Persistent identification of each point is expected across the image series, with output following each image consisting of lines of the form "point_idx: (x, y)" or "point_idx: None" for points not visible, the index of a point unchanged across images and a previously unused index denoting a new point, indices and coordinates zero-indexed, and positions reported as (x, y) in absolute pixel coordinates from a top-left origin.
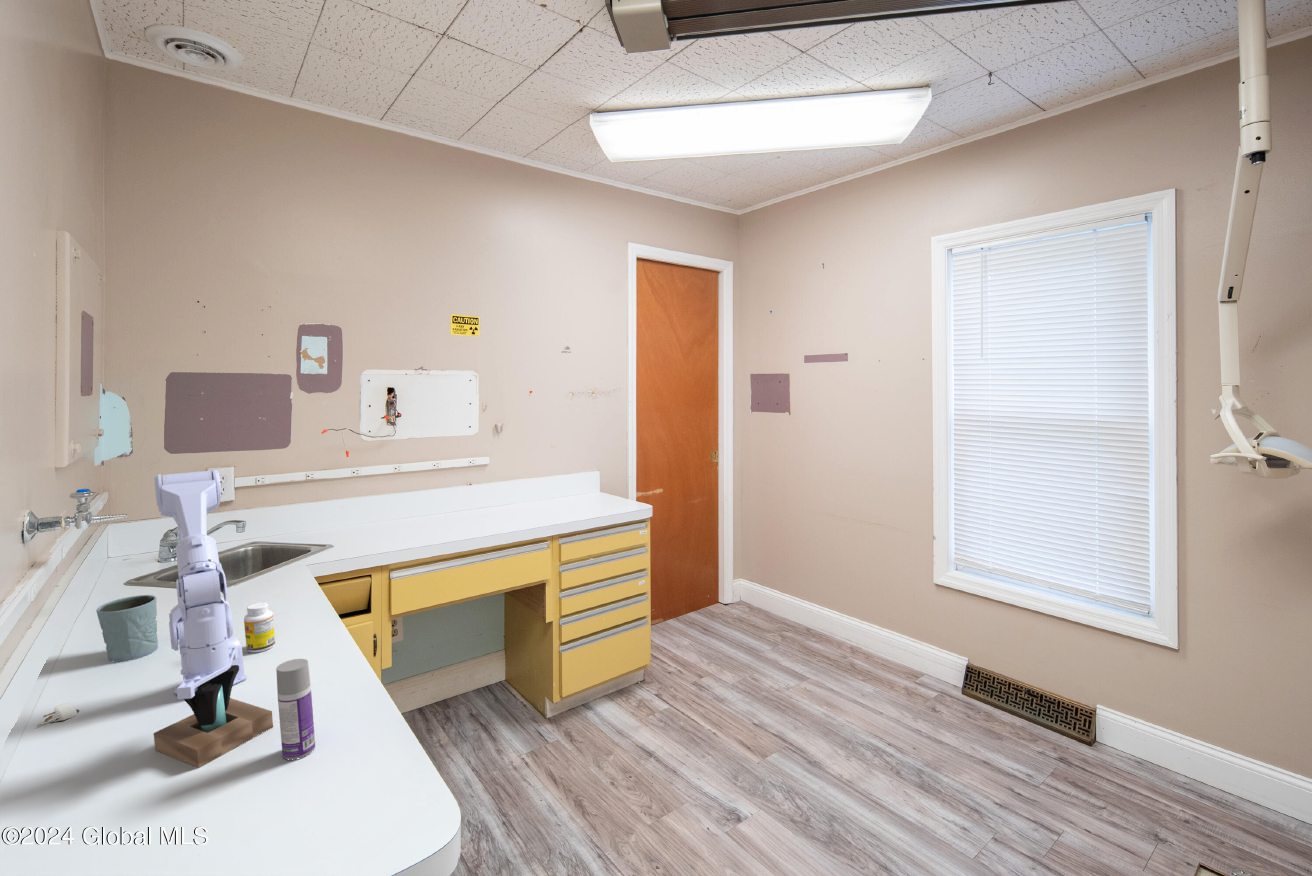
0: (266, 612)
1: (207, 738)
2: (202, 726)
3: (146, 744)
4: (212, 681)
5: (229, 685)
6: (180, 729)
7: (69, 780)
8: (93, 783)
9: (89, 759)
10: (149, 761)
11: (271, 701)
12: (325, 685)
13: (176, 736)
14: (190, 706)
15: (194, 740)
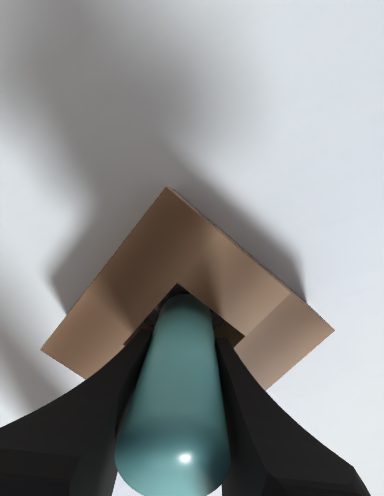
0: None
1: (94, 353)
2: (157, 323)
3: (212, 148)
4: (242, 475)
5: (222, 492)
6: (164, 264)
7: (72, 12)
8: (47, 100)
9: (176, 5)
10: (121, 199)
11: (327, 375)
12: (354, 459)
13: (125, 269)
14: (85, 381)
15: (90, 325)
